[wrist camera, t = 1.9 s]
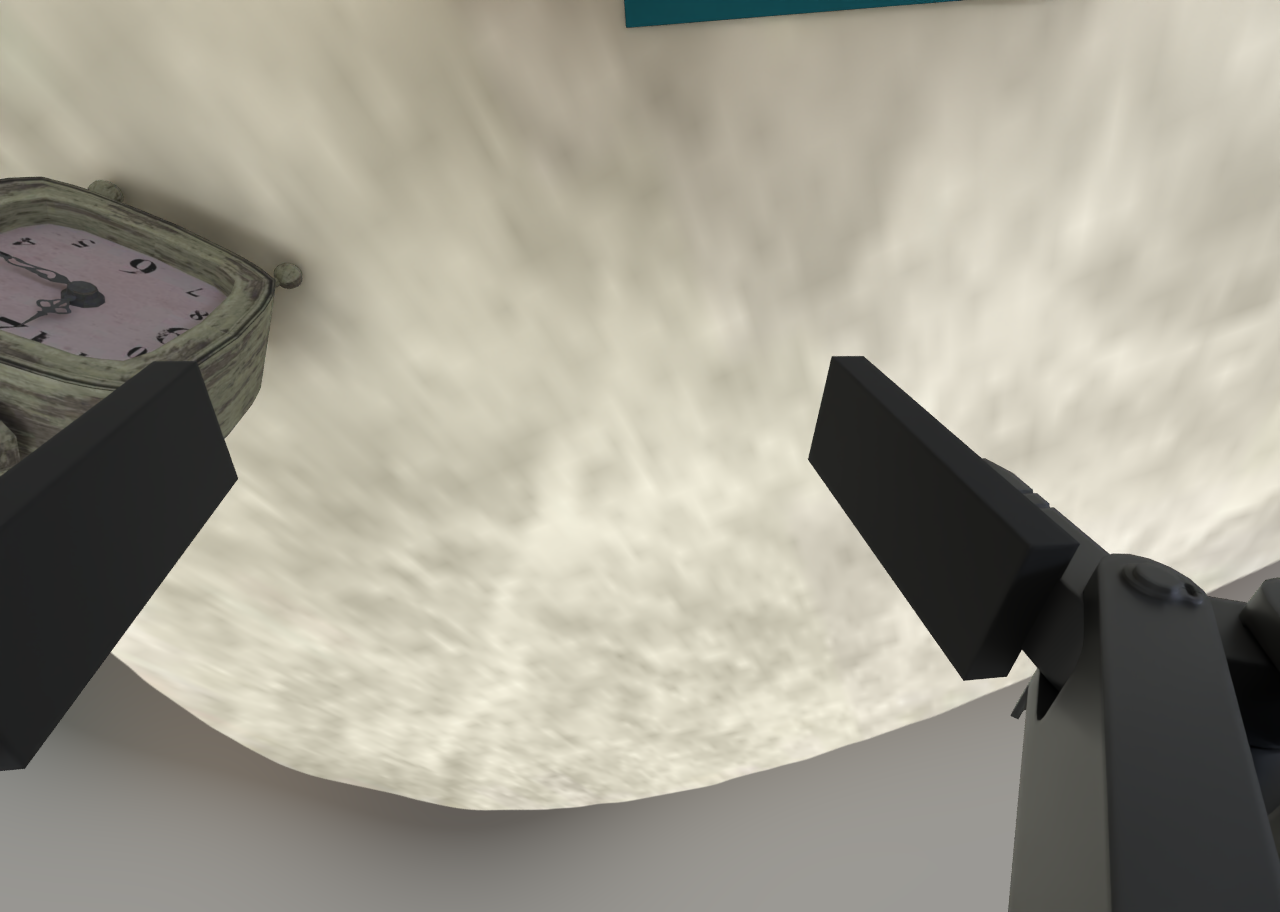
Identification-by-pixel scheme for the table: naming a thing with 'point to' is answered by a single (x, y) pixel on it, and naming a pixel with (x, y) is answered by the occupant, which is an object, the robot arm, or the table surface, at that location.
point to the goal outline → (739, 9)
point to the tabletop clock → (116, 308)
